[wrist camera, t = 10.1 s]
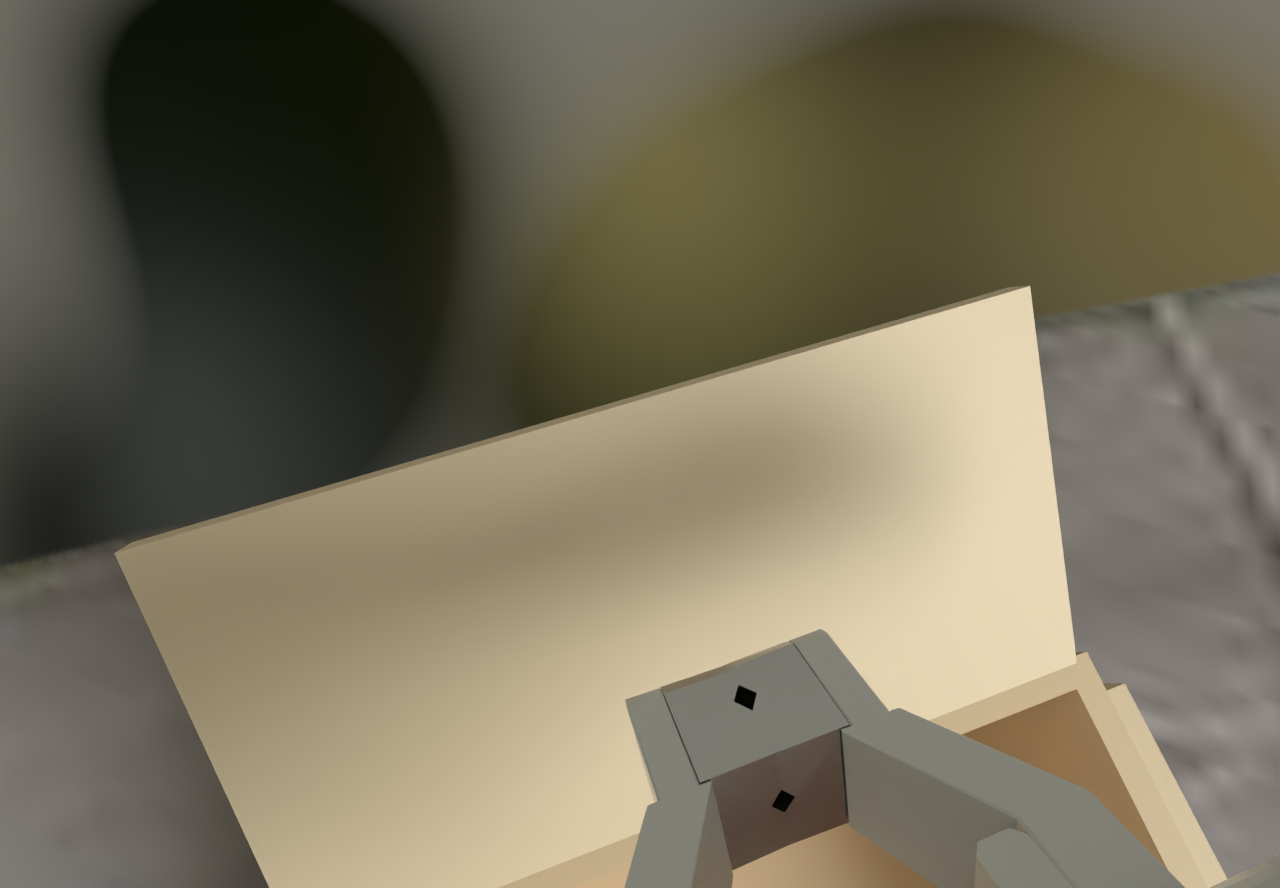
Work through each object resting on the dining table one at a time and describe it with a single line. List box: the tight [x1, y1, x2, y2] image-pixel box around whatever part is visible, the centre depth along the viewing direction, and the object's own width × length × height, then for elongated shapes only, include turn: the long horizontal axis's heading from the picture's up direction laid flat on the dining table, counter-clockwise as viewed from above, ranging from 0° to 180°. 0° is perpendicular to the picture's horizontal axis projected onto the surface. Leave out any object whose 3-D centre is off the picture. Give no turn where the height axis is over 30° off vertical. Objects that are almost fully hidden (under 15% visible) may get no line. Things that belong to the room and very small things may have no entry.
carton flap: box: [114, 286, 1077, 888], centre depth 14 cm, size 1×18×9 cm
